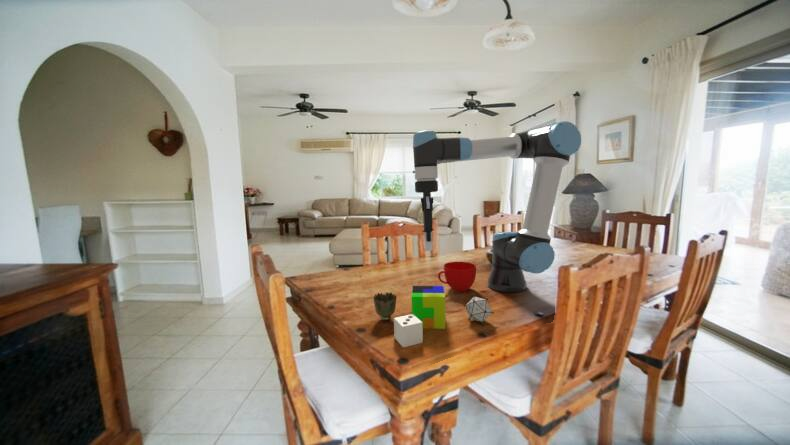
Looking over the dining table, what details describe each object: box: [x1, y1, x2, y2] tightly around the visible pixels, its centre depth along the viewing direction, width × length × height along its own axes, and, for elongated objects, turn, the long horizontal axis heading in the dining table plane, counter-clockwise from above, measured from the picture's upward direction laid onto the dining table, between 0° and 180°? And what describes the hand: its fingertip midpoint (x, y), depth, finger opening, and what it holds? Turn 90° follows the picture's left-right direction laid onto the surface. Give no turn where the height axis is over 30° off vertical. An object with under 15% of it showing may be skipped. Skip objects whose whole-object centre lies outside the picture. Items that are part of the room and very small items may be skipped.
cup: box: [373, 292, 397, 322], centre depth 99 cm, size 8×7×8 cm
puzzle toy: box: [411, 285, 446, 330], centre depth 98 cm, size 10×10×10 cm
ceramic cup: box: [437, 261, 477, 293], centre depth 125 cm, size 13×17×10 cm
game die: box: [462, 293, 495, 326], centre depth 97 cm, size 9×8×10 cm
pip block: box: [393, 313, 424, 348], centre depth 86 cm, size 6×6×6 cm
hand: (428, 250), depth 104 cm, fingers closed
